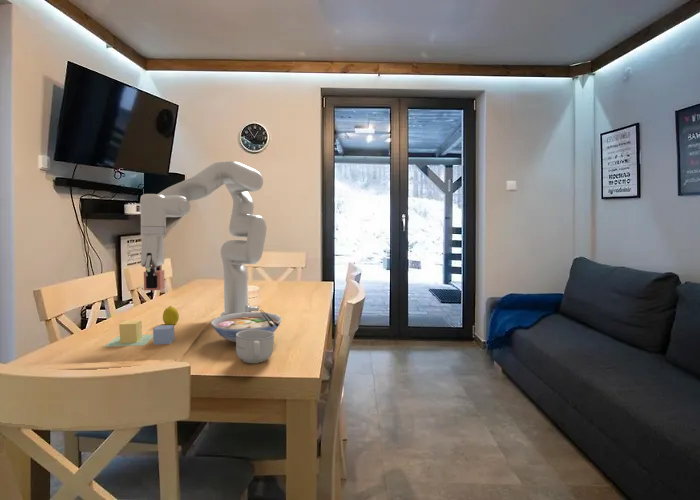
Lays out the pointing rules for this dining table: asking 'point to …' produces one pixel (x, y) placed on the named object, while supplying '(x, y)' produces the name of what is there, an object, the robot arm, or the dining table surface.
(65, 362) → the dining table surface
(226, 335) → the ramen bowl
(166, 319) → the lemon
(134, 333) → the block ochre
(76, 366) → the dining table surface
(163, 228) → the robot arm
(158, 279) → the block brick
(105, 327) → the dining table surface
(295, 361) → the dining table surface
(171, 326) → the block slate
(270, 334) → the teacup
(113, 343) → the baseplate
